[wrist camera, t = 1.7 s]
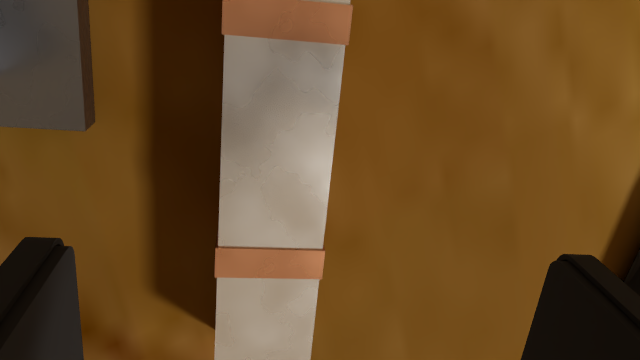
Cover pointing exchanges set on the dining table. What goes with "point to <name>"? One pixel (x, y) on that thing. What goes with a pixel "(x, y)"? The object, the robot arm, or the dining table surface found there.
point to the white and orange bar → (275, 171)
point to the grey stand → (46, 65)
